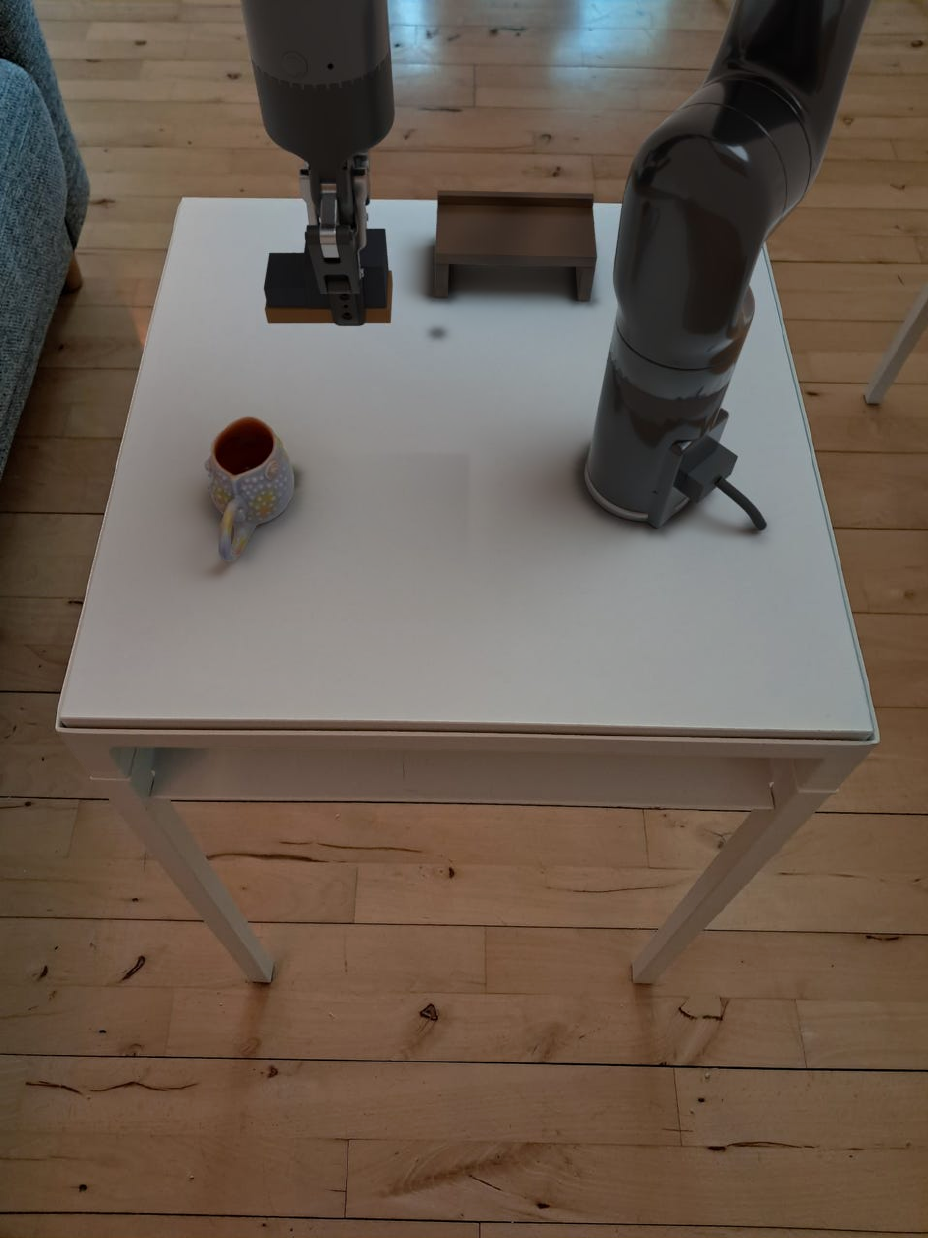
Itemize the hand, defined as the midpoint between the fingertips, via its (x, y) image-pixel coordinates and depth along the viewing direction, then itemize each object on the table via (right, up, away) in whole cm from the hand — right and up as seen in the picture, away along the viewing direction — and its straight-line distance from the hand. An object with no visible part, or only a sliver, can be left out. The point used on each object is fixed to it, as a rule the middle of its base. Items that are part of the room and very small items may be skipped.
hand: (352, 297), depth 65 cm
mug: (-10, -14, +14) cm, 22 cm away
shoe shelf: (+13, +13, +30) cm, 35 cm away
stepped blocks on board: (-1, 0, 0) cm, 2 cm away
